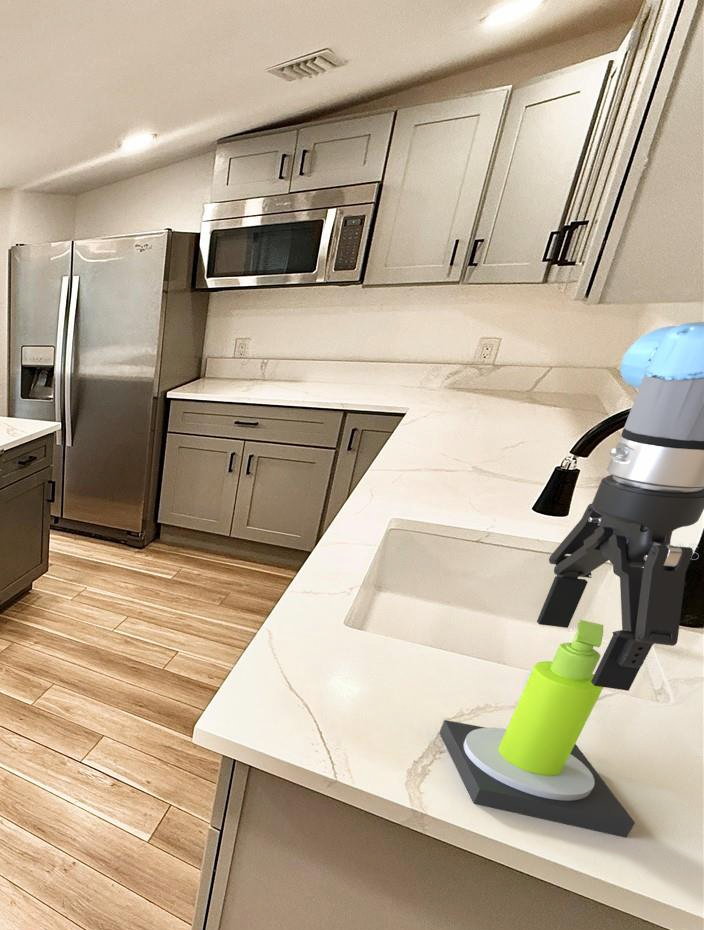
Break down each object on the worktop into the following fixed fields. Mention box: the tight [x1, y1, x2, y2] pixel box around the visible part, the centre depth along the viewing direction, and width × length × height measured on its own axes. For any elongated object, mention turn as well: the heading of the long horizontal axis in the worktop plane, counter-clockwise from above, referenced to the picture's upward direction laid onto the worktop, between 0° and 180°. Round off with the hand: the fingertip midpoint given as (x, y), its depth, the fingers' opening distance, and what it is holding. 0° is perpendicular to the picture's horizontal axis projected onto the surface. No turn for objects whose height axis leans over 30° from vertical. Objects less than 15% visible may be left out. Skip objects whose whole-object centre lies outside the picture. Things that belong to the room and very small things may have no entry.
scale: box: [439, 719, 636, 838], centre depth 79 cm, size 14×14×3 cm
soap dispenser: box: [499, 619, 604, 776], centre depth 74 cm, size 6×7×20 cm
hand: (578, 653), depth 72 cm, fingers open, 13 cm apart
